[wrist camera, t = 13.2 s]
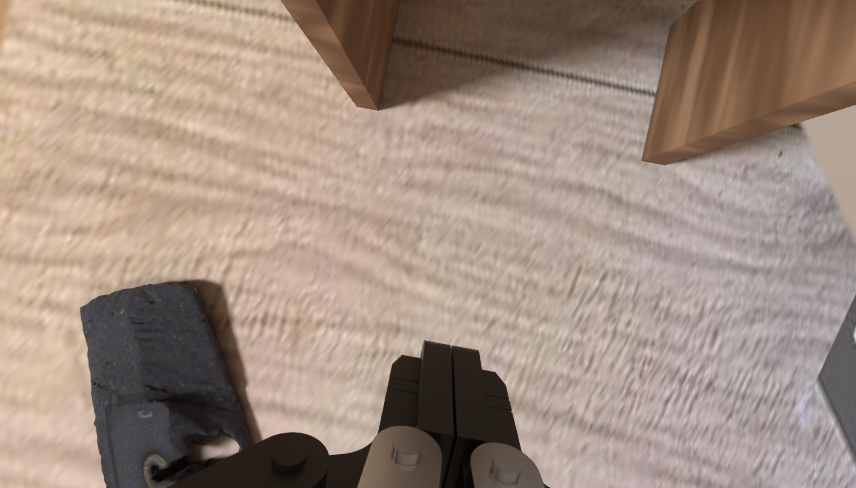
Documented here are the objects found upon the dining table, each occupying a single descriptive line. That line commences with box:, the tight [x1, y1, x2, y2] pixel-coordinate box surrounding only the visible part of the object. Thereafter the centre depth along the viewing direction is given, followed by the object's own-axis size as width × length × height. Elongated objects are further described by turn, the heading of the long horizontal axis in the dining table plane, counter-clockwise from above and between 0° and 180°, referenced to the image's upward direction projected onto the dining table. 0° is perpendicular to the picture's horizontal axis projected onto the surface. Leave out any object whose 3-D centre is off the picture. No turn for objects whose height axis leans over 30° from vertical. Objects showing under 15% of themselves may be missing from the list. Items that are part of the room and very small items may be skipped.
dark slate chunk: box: [80, 283, 252, 488], centre depth 39 cm, size 15×22×5 cm
